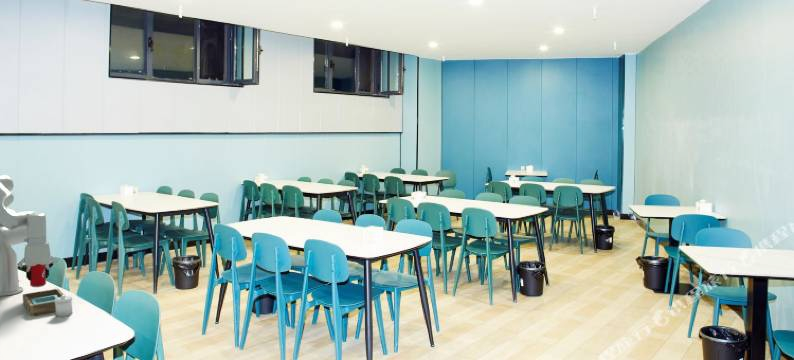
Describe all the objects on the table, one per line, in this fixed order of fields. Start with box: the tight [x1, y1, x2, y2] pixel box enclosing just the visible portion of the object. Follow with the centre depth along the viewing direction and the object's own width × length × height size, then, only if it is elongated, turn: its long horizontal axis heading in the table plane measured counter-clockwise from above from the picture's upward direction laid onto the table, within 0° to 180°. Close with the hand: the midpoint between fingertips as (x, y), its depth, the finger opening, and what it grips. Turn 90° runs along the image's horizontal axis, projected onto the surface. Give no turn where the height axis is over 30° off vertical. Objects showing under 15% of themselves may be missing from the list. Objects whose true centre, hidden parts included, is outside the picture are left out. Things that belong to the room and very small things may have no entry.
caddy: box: [22, 288, 66, 317], centre depth 258 cm, size 22×14×4 cm, turn 40°
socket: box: [30, 295, 59, 305], centre depth 258 cm, size 10×10×2 cm
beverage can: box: [29, 264, 47, 288], centre depth 274 cm, size 6×6×12 cm
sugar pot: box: [54, 294, 73, 318], centre depth 247 cm, size 7×7×8 cm
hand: (37, 278), depth 274 cm, fingers closed on beverage can, 6 cm apart
